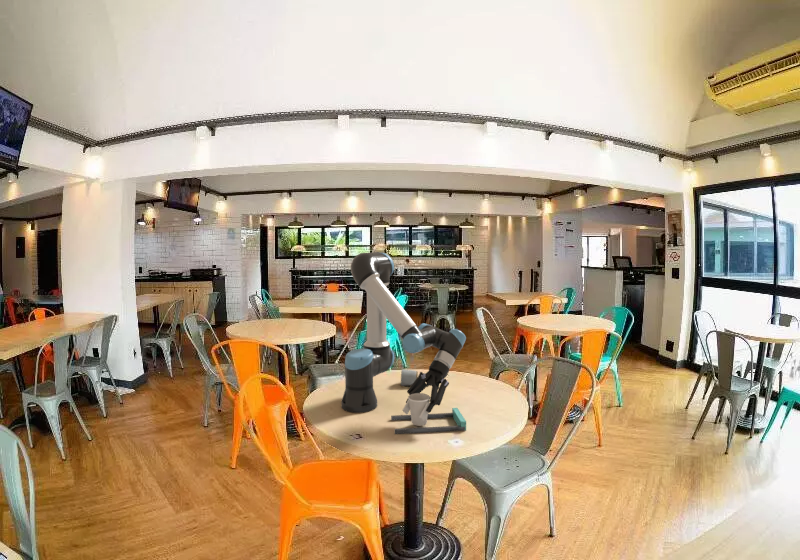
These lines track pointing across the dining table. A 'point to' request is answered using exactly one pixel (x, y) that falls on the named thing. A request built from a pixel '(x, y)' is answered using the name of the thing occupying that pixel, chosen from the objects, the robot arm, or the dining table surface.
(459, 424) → the teal band
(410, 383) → the ceramic mug
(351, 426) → the dining table surface
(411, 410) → the dixie cup
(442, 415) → the guide rails
